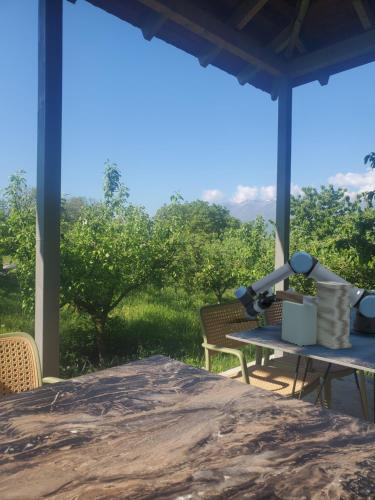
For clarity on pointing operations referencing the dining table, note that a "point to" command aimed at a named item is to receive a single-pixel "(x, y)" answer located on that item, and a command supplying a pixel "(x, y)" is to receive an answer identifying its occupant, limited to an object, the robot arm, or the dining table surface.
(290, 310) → the block
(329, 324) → the tall stand
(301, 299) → the brown grey bar
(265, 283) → the robot arm
